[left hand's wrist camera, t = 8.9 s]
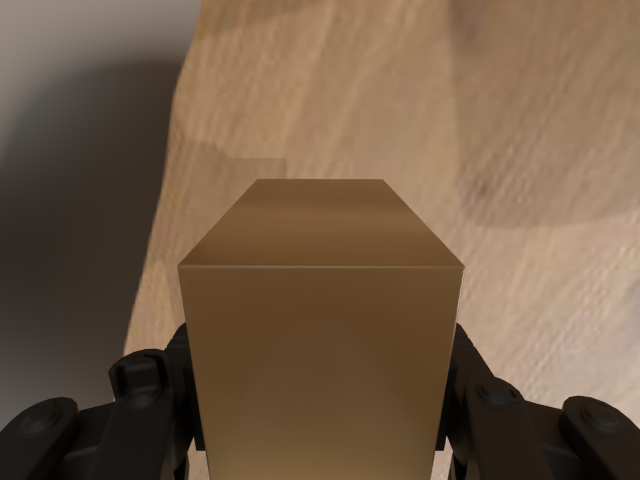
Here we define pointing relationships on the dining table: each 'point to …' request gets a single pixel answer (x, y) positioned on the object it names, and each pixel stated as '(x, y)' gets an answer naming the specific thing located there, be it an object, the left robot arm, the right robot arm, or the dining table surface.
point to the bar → (320, 333)
